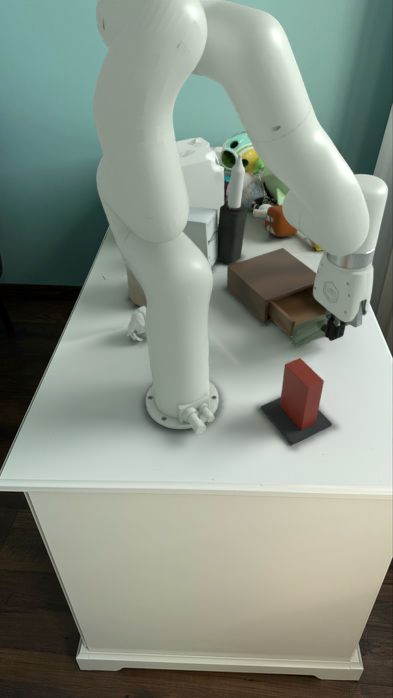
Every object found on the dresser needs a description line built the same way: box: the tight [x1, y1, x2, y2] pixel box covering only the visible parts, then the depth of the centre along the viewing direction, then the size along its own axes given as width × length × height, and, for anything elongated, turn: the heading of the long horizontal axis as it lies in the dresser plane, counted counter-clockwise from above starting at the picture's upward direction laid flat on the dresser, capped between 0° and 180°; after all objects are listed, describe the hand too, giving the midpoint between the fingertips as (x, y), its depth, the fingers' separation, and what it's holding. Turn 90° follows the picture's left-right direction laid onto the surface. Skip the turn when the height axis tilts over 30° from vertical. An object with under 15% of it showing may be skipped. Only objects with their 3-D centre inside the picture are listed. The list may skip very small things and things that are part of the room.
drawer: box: [267, 286, 350, 348], centre depth 102 cm, size 15×13×4 cm
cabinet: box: [226, 247, 317, 325], centre depth 110 cm, size 15×15×6 cm
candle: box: [217, 153, 248, 265], centre depth 115 cm, size 5×5×25 cm
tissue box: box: [176, 136, 225, 223], centre depth 129 cm, size 20×16×25 cm
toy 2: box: [252, 203, 298, 237], centre depth 132 cm, size 9×7×15 cm
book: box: [280, 357, 325, 430], centre depth 82 cm, size 6×3×10 cm, turn 29°
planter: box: [124, 261, 147, 308], centre depth 110 cm, size 11×11×10 cm
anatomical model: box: [225, 172, 265, 212], centre depth 139 cm, size 10×12×10 cm
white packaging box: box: [182, 206, 219, 268], centre depth 118 cm, size 7×7×13 cm
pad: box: [260, 397, 333, 445], centre depth 86 cm, size 9×8×1 cm
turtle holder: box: [220, 130, 265, 175], centre depth 154 cm, size 12×18×12 cm
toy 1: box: [260, 165, 290, 206], centre depth 139 cm, size 20×19×15 cm
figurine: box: [126, 306, 146, 342], centre depth 103 cm, size 7×15×7 cm, turn 122°
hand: (334, 336), depth 97 cm, fingers closed
